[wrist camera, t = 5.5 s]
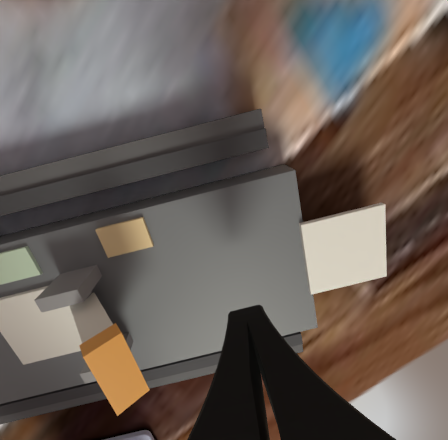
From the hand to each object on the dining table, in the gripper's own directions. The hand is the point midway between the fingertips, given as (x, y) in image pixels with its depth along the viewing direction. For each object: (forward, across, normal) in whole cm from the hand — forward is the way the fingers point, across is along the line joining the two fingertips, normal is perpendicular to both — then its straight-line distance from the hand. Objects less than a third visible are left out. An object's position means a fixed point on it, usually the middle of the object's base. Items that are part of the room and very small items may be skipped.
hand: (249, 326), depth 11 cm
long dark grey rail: (+6, +8, -7) cm, 12 cm away
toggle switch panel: (+6, +6, 0) cm, 8 cm away
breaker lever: (+3, +8, 0) cm, 9 cm away
